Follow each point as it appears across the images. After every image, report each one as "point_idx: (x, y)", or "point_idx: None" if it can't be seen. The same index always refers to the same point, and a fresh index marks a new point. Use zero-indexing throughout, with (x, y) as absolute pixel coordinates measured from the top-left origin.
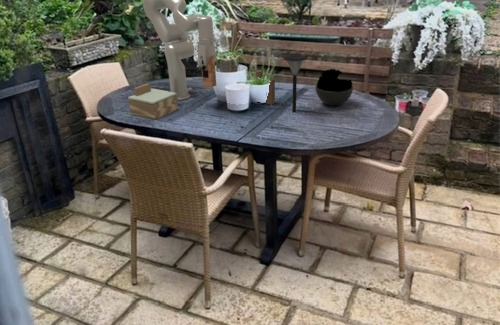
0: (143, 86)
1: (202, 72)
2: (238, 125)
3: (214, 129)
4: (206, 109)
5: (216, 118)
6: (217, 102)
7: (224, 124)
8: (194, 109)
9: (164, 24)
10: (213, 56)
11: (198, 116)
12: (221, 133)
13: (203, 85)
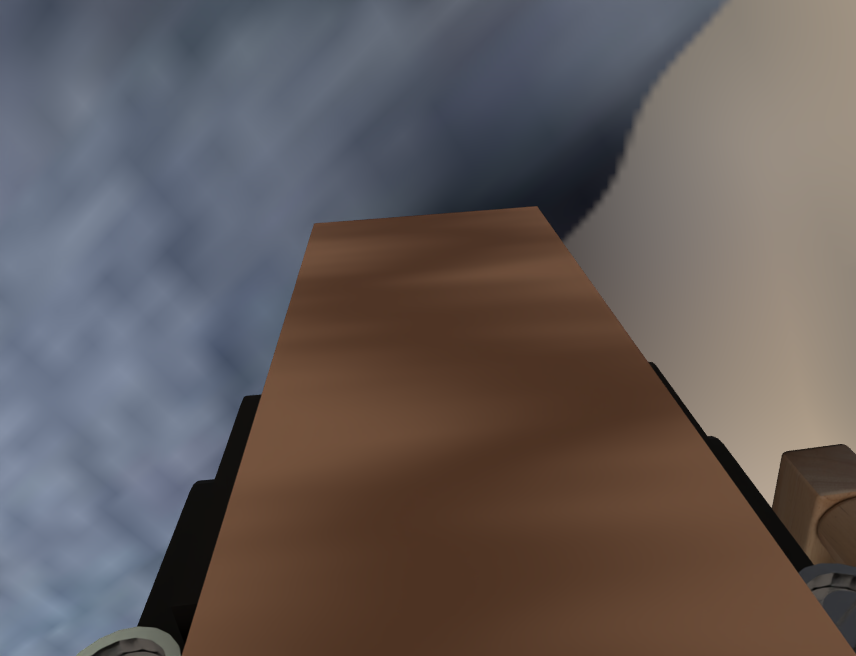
0: None
1: (252, 449)
2: None
3: (5, 574)
4: (332, 162)
5: (197, 437)
6: (640, 91)
7: (146, 565)
8: (223, 9)
9: None
10: None
11: (89, 254)
12: (2, 646)
13: (313, 239)
